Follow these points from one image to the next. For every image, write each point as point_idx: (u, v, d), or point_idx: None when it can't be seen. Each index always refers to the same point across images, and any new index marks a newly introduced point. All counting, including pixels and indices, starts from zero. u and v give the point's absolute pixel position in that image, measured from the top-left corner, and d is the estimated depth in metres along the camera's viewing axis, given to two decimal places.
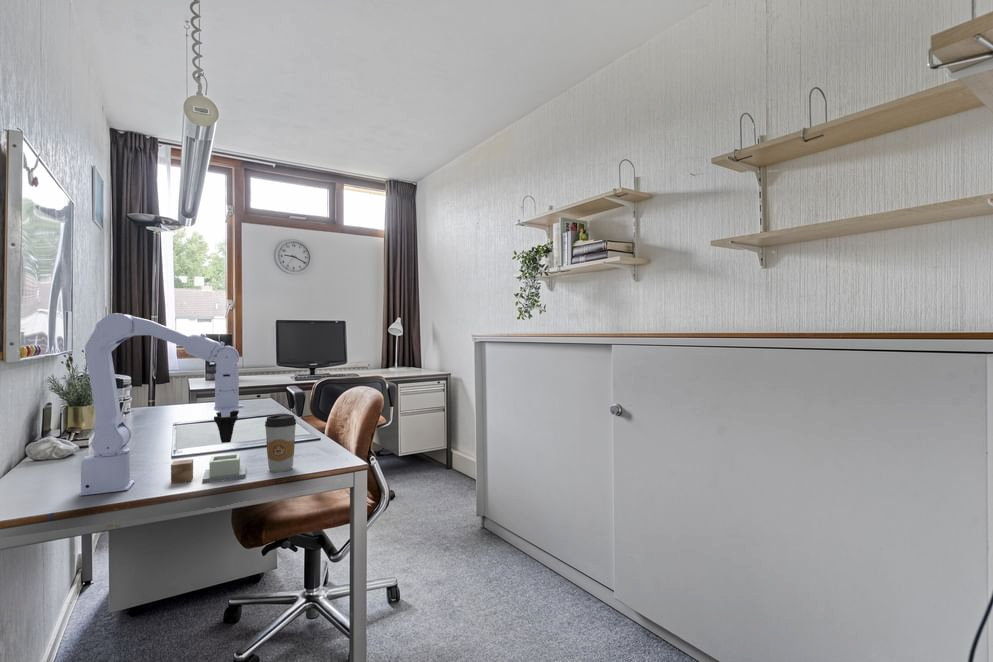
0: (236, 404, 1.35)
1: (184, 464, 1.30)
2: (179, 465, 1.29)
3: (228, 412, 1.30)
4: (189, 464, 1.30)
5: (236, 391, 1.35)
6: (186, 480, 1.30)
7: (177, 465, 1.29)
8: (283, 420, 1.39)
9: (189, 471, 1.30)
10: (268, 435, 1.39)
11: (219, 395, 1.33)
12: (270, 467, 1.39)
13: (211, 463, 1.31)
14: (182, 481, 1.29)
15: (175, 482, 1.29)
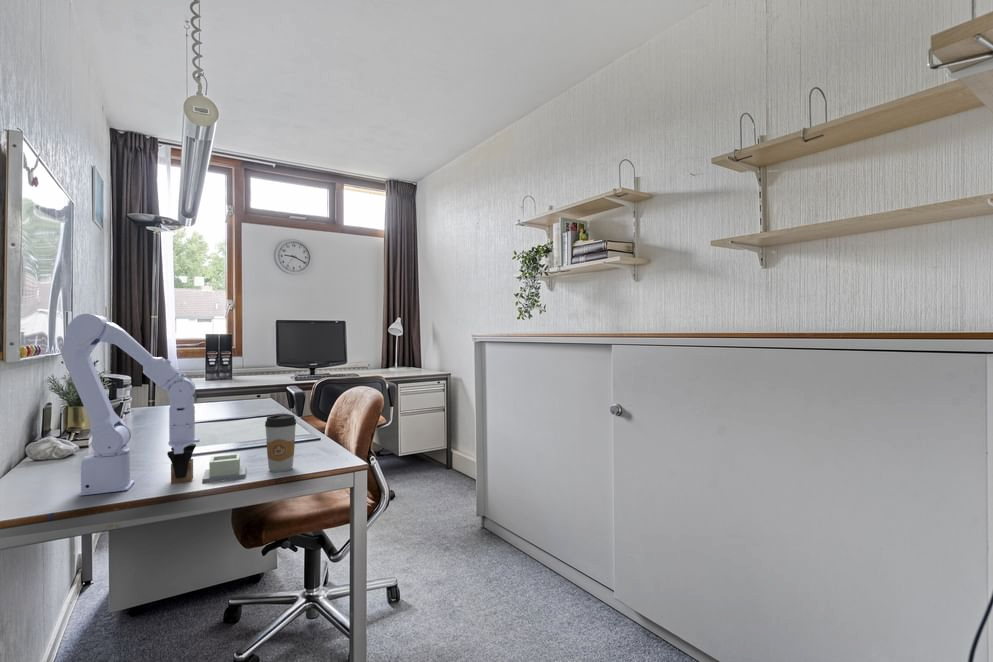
0: (191, 438, 1.31)
1: None
2: None
3: (181, 448, 1.25)
4: (189, 464, 1.30)
5: (191, 425, 1.31)
6: (186, 480, 1.30)
7: None
8: (283, 420, 1.39)
9: (189, 471, 1.30)
10: (268, 435, 1.39)
11: (173, 430, 1.28)
12: (270, 467, 1.39)
13: (211, 463, 1.31)
14: (182, 481, 1.29)
15: (175, 482, 1.29)
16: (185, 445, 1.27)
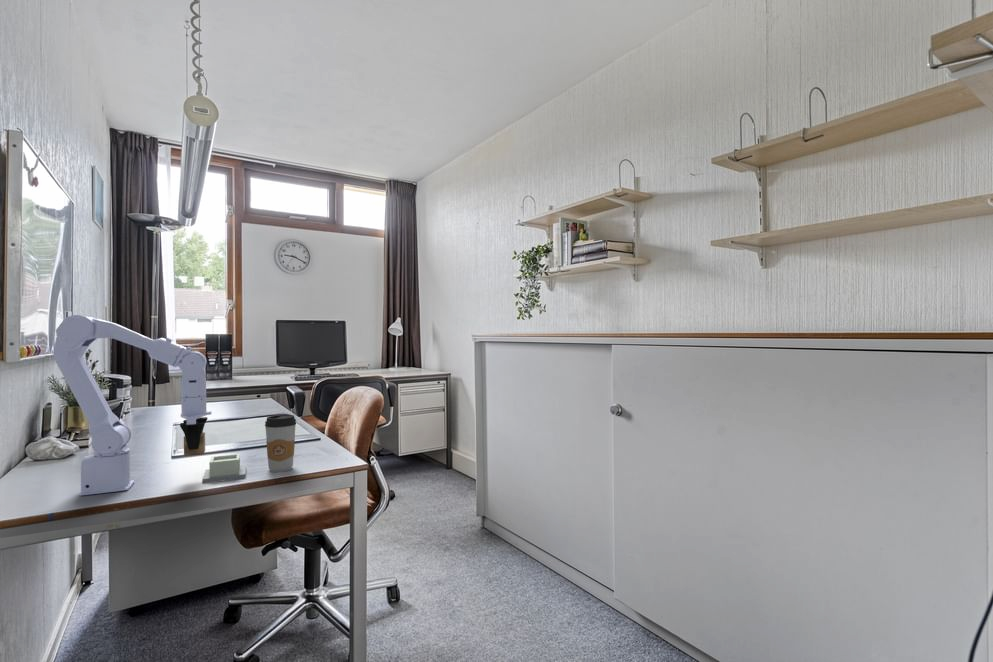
0: (203, 411, 1.32)
1: None
2: None
3: (194, 419, 1.26)
4: (201, 436, 1.31)
5: (203, 397, 1.32)
6: (199, 452, 1.31)
7: None
8: (283, 420, 1.39)
9: (202, 443, 1.31)
10: (268, 435, 1.39)
11: (185, 402, 1.30)
12: (270, 467, 1.39)
13: (211, 463, 1.31)
14: (195, 453, 1.31)
15: (188, 454, 1.30)
16: (197, 416, 1.28)
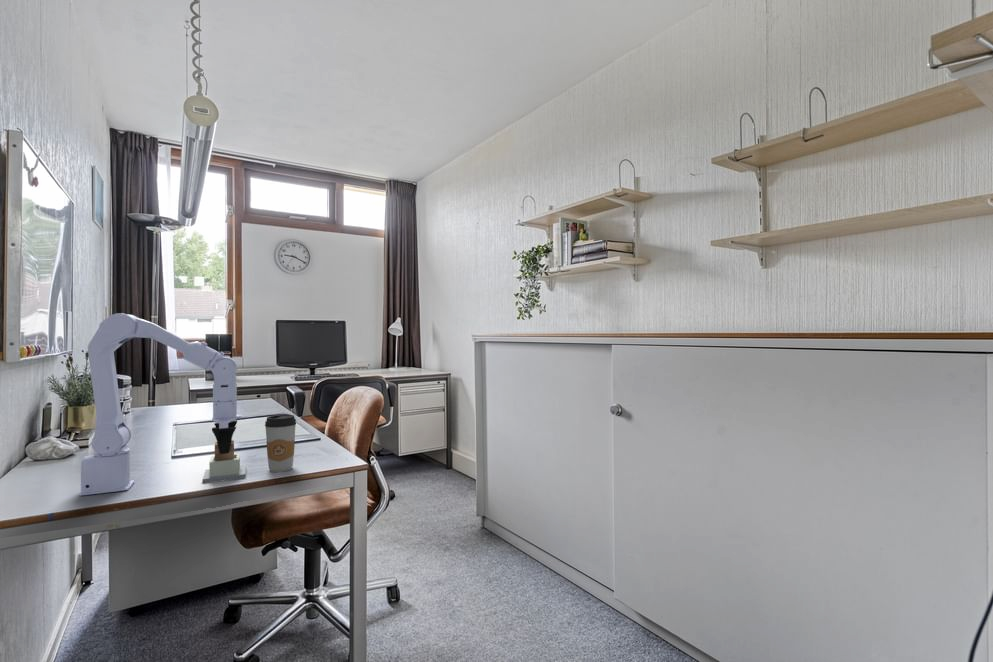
0: (234, 415, 1.35)
1: None
2: None
3: (226, 423, 1.29)
4: (232, 444, 1.34)
5: (234, 402, 1.35)
6: None
7: None
8: (283, 420, 1.39)
9: (232, 451, 1.34)
10: (268, 435, 1.39)
11: (217, 406, 1.33)
12: (270, 467, 1.39)
13: (211, 463, 1.31)
14: None
15: None
16: (229, 420, 1.31)
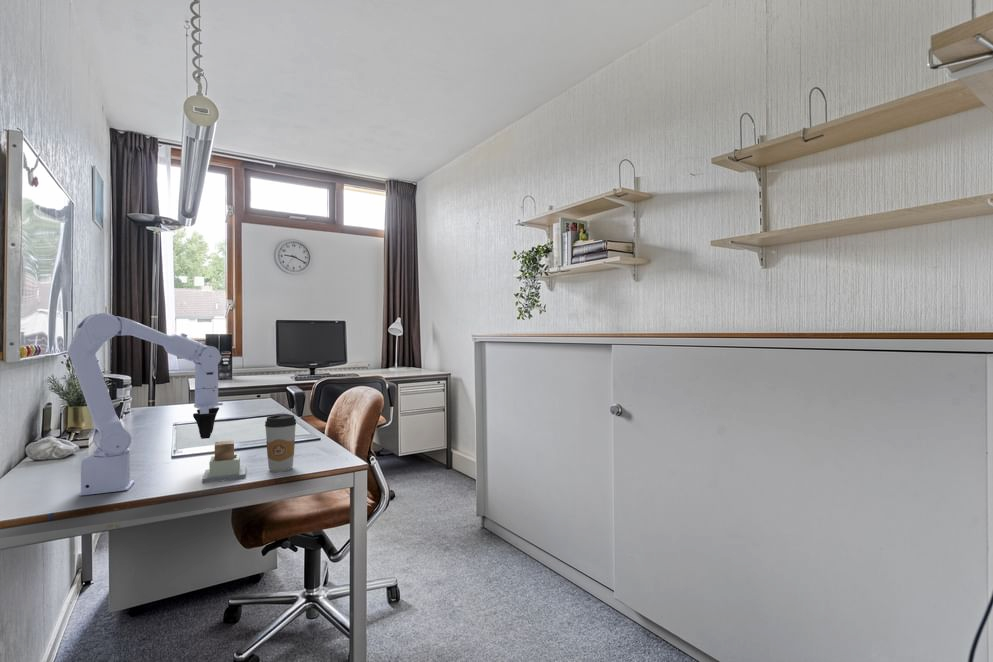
0: (215, 401, 1.40)
1: (227, 444, 1.34)
2: (222, 445, 1.33)
3: (207, 409, 1.34)
4: (232, 444, 1.34)
5: (215, 389, 1.40)
6: None
7: (220, 445, 1.33)
8: (283, 420, 1.39)
9: (232, 451, 1.34)
10: (268, 435, 1.39)
11: (198, 393, 1.38)
12: (270, 467, 1.39)
13: (211, 463, 1.31)
14: None
15: None
16: (210, 406, 1.36)
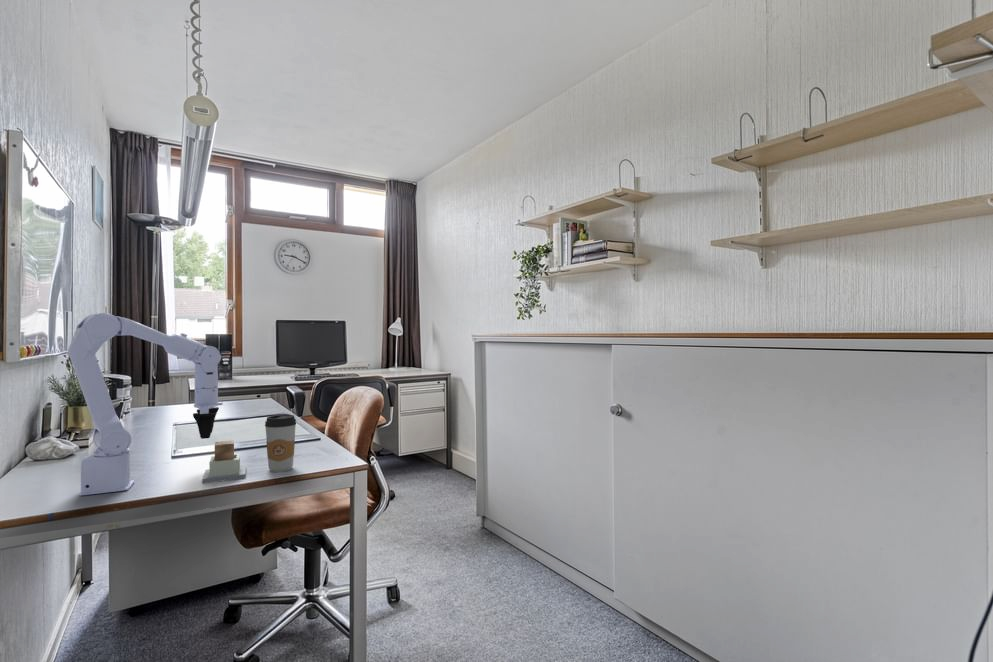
0: (215, 401, 1.40)
1: (227, 444, 1.34)
2: (222, 445, 1.33)
3: (206, 409, 1.34)
4: (232, 444, 1.34)
5: (215, 389, 1.40)
6: None
7: (220, 445, 1.33)
8: (283, 420, 1.39)
9: (232, 451, 1.34)
10: (268, 435, 1.39)
11: (198, 393, 1.38)
12: (270, 467, 1.39)
13: (211, 463, 1.31)
14: None
15: None
16: (210, 406, 1.36)
